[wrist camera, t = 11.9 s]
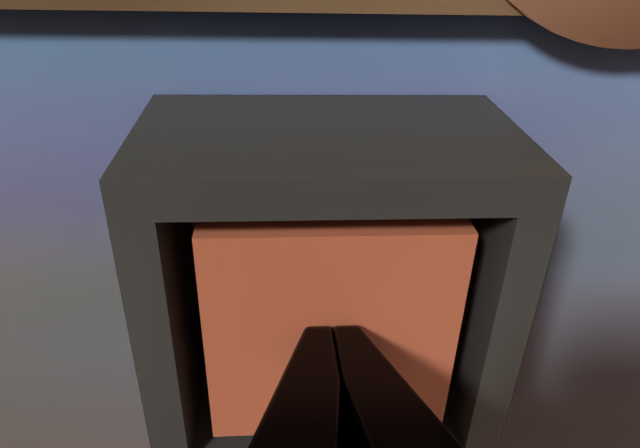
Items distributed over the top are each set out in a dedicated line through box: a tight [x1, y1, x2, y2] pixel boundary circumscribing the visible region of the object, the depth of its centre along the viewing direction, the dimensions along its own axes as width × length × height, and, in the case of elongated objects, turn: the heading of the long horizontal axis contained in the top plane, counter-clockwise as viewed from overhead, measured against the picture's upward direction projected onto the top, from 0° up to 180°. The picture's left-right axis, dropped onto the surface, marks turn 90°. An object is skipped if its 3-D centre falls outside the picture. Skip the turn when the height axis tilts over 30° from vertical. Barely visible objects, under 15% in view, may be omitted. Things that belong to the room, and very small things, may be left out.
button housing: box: [99, 95, 572, 448], centre depth 10 cm, size 6×6×4 cm
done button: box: [192, 218, 479, 437], centre depth 10 cm, size 4×4×2 cm
